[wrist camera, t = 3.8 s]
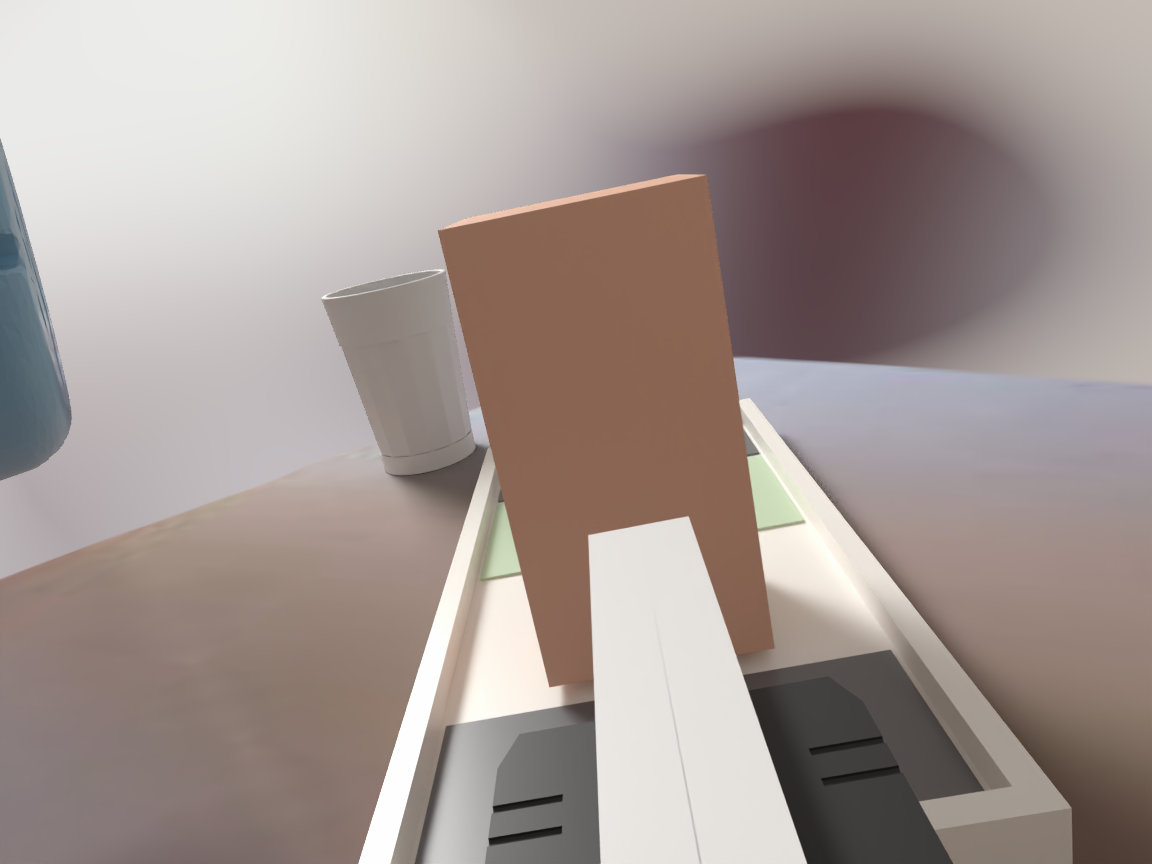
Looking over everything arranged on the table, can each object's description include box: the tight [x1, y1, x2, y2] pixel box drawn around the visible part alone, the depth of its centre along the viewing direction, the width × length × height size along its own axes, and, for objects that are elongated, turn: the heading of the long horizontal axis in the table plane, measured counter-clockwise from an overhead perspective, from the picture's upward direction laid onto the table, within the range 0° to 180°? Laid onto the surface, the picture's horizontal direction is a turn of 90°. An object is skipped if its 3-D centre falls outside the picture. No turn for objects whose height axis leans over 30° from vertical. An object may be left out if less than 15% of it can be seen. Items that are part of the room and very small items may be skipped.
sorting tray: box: [359, 398, 1073, 864], centre depth 33 cm, size 16×32×2 cm, turn 0°
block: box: [438, 174, 775, 687], centre depth 26 cm, size 7×6×14 cm
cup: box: [321, 269, 476, 475], centre depth 54 cm, size 8×8×12 cm
